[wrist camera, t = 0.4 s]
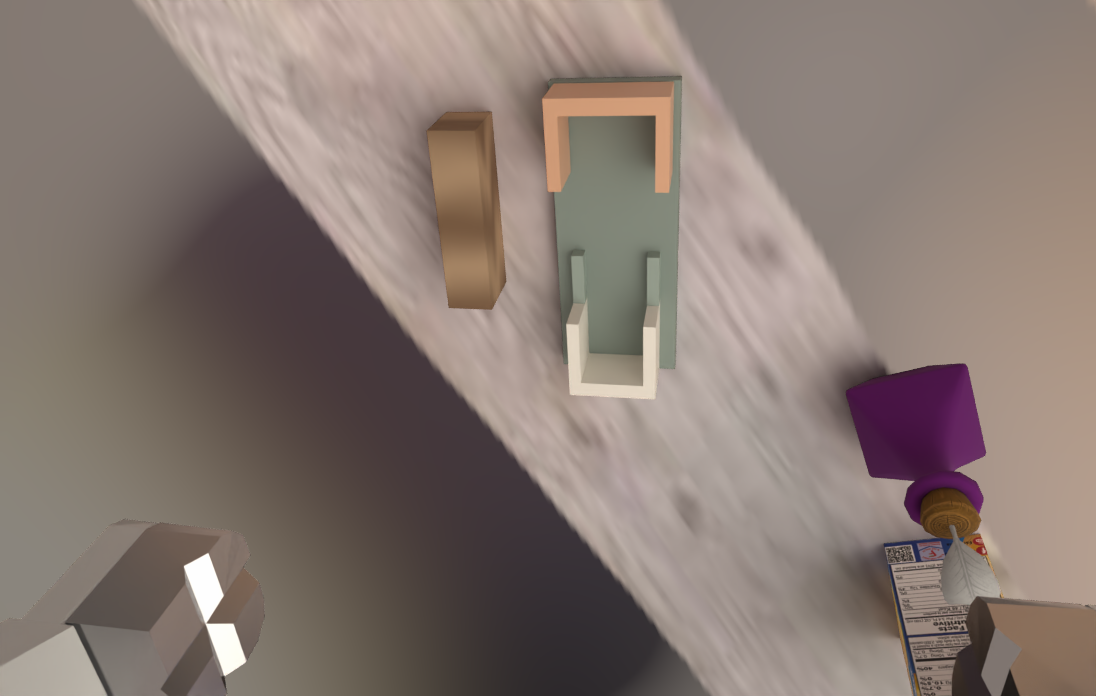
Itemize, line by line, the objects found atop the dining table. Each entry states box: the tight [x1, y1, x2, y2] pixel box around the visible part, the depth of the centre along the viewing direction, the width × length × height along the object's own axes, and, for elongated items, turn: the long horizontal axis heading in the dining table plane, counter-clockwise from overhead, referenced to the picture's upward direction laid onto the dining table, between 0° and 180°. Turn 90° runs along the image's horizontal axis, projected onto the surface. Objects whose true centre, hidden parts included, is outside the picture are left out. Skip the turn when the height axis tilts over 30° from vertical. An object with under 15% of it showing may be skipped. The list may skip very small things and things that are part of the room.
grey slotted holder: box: [548, 76, 682, 399], centre depth 54 cm, size 20×8×5 cm, turn 3°
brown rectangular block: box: [427, 112, 506, 310], centre depth 55 cm, size 12×3×4 cm, turn 3°
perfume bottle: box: [846, 364, 1001, 605], centre depth 50 cm, size 8×8×18 cm
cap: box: [542, 82, 674, 193], centre depth 49 cm, size 6×7×4 cm
